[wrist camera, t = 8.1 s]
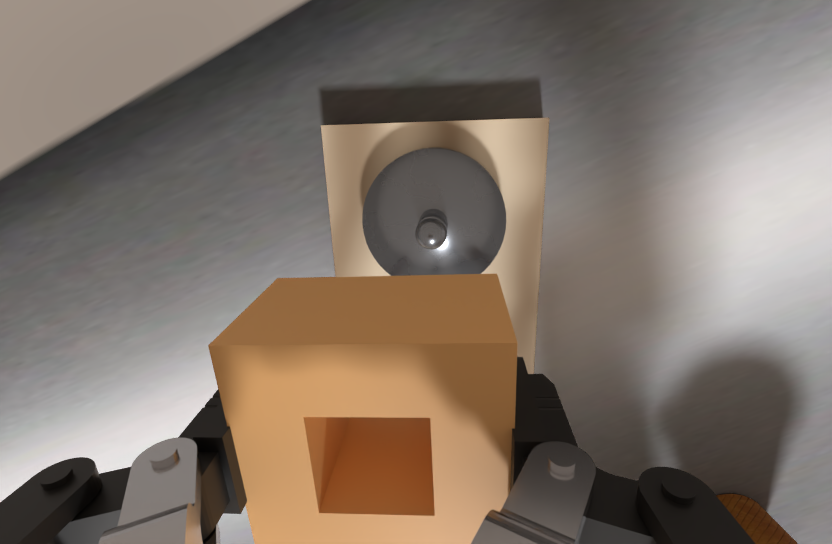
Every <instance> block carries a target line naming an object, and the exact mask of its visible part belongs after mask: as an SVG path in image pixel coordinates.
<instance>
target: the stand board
mask: <svg viewBox="0 0 832 544" xmlns="http://www.w3.org/2000/svg"><path fill="white" fill-rule="evenodd" d="M321 131H322V141H323V152H324V162H325V172H326V183H327V193H328V203H329V213H330V224H331V234H332V244H333V255H334V265H335V275H336V277H361V276H391V275H389V274H388V273H387V272H386V271H385V270H384V269H383V268H382V267H381V266H380V265H379V264H378V263H377V261H376V260H375V259H374V257H373V255H372V254H371V252H370V250H369V248H368V245H367V243H366V240H365V236H364V232H363V225H362V214H363V206H364V202H365V198H366V195H367V193H368V190H369V188H370V186H371V185H372V183H373V181H374V180H375V178H376V177H377V176H378V174H379V173H380V172H381V171H382V170H383V169H384V168H385V167H386V166H387V165H389V164H390V163H391V162H393V161H394V160H395V159H397V158H399V157H400V156H402V155H404V154H406V153H408V152H411V151H414V150H417V149H421V148H428V147H443V148H449V149H453V150H456V151H459V152H462V153H464V154H466V155H468V156H470V157H471V158H473V159H475V160H476V161H477V162H479V163H480V164H481V165H482V166H483V167H484V168H485V169H486V170H487V171H488V172H489V174H490V175H491V176H492V178H493V179H494V181H495V182H496V184H497V186H498V188H499V190H500V192H501V194H502V197H503V200H504V204H505V209H506V231H505V235H504V240H503V242H502V245H501V248H500V250H499V252H498V254H497V255H496V257H495V259H494V260H493V261H492V263H491V264H490V265H489V266H488V267H487V268H486V269H485V270H484V271H483V272H482V273H481V274H497V275H498V278H499V282H500V285H501V288H502V292H503V295H504V299H505V302H506V305H507V309H508V312H509V316H510V319H511V322H512V326H513V329H514V333H515V336H516V339H517V343H518V345H517V357H523V359H524V362H525V365H526V368H527V372H528V374H534V360H535V344H536V328H537V311H538V295H539V279H540V262H541V246H542V229H543V213H544V197H545V180H546V164H547V148H548V131H549V118H521V119H492V120H463V121H434V122H405V123H376V124H347V125H321Z"/></svg>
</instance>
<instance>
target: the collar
mask: <svg viewBox="0 0 832 544" xmlns="http://www.w3.org/2000/svg"><path fill="white" fill-rule="evenodd" d="M517 345H518V343H517V339H516V336H515V333H514V329H513V326H512V322H511V319H510V316H509V312H508V309H507V305H506V302H505V299H504V295H503V292H502V288H501V285H500V282H499V278H498V275H497V274H454V275H407V276H361V277H314V278H277V279H276V280H275V281H274V282H273V283H272V284H271V285H270V286H269V287H268V288H267V289H266V290H265V291H264V292H263V293H262V294H261V295H260V296H259V297H258V298H257V299H256V300H255V301H254V302H253V303H252V304H251V305H250V306H249V307H248V308H246V309H245V310H244V311H243V312H242V313H241V314H240V315H239V316H238V317H237V318H236V319H235V320H234V321H233V322H232V323H231V324H230V325H229V326H228V327H227V328H226V329H225V330H224V331H223V332H222V333H221V334H220V335H219V336H218V337H217V338H216V339H215V340H214V341H212V342H211V343H210V344H209V345H208V346H209V351H210V355H211V359H212V363H213V368H214V372H215V376H216V380H217V385H218V389H219V393H220V398H221V402H222V406H223V410H224V415H225V419H226V423H227V426H230V428H231V433H232V437H233V441H234V446H235V450H236V454H237V459H238V463H239V467H240V471H241V476H242V480H243V484H244V489H245V493H246V497H247V503H246V509H247V513H248V517H249V521H250V526H251V530H252V534H253V538H254V543H255V544H471V542H472V540H473V539H474V537H475V535H476V533H477V531H478V529H479V528H480V526H481V524H482V522H483V520H484V518H485V517H486V515H487V514H488V512H489V511H490V510H492V509H494V510H496V511H498V512H500V511H501V509H502V507H503V505H504V503H505V501H506V499H507V497H508V495H509V493H510V480H511V446H512V428H515V407H516V376H517Z"/></svg>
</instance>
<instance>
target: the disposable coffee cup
mask: <svg viewBox="0 0 832 544" xmlns="http://www.w3.org/2000/svg"><path fill="white" fill-rule="evenodd" d="M717 497H718V499H719V500H720V501H721V502H722V504H723V505H724V506H725V507H726V508H727V510H728V511H729V512H730V513H731V514H732V516H733V517H734V518H735V519H736V521H737V522H738V523H739V524H740V525H741V527H742V528H743V529H744V530H745V531H746V533H747V534H748V535H749V536H750V538H751V539H752V540H753V541H754V542H755V544H797V542H796V541H795V540H794V539H793V538H792V537H791V536H790V535H789V534H788V533H787V532H786V531H785V530H784V529H783V528H782V527H781V526H780V525H779V524H778V523H777V522H776V521H775V520H774V519H773V518H772V517H771V516H770V515H769V514H768V513H767V512H766V511H765V510H764V509H763V508H762V507H761V506H760V505H759V504H758V503H757V502H755V501H754V500H753V499H751V498H748V497H746V496H743V495H738V494H722V495H717Z"/></svg>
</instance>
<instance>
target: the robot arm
mask: <svg viewBox="0 0 832 544" xmlns="http://www.w3.org/2000/svg"><path fill="white" fill-rule="evenodd" d="M246 503H247V497H246V493H245V489H244V484H243V480H242V476H241V471H240V467H239V463H238V459H237V454H236V450H235V446H234V441H233V437H232V433H231V428H230V426H227V423H226V419H225V415H224V410H223V406H222V402H221V398H220V393H219V389H218V390H217V391H216V393H215V394H214V395H213V398H211V399H210V400H209V401H208V402H207V403H206V405H205V408H202V409H201V411H200V412H199V413H198V414H197V415H196V417H195V418H194V419H193V420H192V422H191V423H190V424H189V425H188V426H187V428H186V429H185V430H184V431H183V432H182V434H181V435H180V436H179V437H178V438H172V439H168V440H165V441H162V442H159V443H157V444H155V445H153V446H151V447H150V448H148V449H146V450H145V451H144V452H142V453H141V454H140V455H139V456H138V457H137V458H136V459H135V461H134V462H133V464H132V466H131V467H128V468H124V469H119V470H115V471H110V472H105V473H101V474H99V473H98V471H97V468H96V465H95V463H94V461H93V460H91V459H89V458H83V457H80V458H72V459H68V460H64V461H61V462H59V463H56V464H54V465H52V466H50V467H48V468H46V469H44V470H42V471H41V472H39V473H38V474H36V475H35V476H33V477H32V478H31V479H30V480H28V481H27V482H26V483H24V484H23V485H22V486H21V487H19V488H18V489H17V490H16V491H14V492H13V493H12V494H11V495H9V496H8V497H7V498H6V499H4V500H3V501H2V502H0V544H220V531H219V527H218V521H219V519H220V518H221V516H222V514H223V513H230V514H241V512H242V510H243V508H244V506H245V505H246ZM471 544H755V542H754V541H753V540H752V539H751V538H750V536H749V535H748V534H747V533H746V531H745V530H744V529H743V528H742V527H741V525H740V524H739V523H738V522H737V521H736V519H735V518H734V517H733V516H732V514H731V513H730V512H729V511H728V510H727V508H726V507H725V506H724V505H723V504H722V502H721V501H720V500H719V499H718V497H717V496H716V495H715V494H714V493H713V491H712V490H711V489H710V488H709V487H708V486H707V485H706V484H704V483H703V482H702V481H701V480H699V479H698V478H696V477H694V476H693V475H691V474H689V473H686V472H684V471H681V470H678V469H674V468H669V467H654V468H650V469H648V470H646V471H644V472H643V473H642V474H641V476H640V478H639V481H635V480H631V479H627V478H623V477H619V476H615V475H612V474H609V473H607V472H604V471H602V470H600V469H598V468H597V467H595V464H594V462H593V460H592V459H591V457H590V456H589V455H588V454H587V453H586V452H585V451H583V450H582V449H580V448H578V446H577V443H576V441H575V438H574V435H573V433H572V430H571V428H570V425H569V422H568V420H567V417H566V414H565V412H564V410H563V407H562V404H561V401H560V399H559V396H558V394H557V391H556V388H555V386H554V384H553V383H552V382H551V381H550V380H549V379H547V378H546V377H545V376H544V375H543V374H528V372H527V368H526V365H525V362H524V359H523V357H517V376H516V407H515V428H512V446H511V480H510V493H509V495H508V497H507V499H506V501H505V503H504V505H503V507H502V509H501V511H500V512H498V511H496V510H494V509H492V510H490V511H489V512H488V514H487V515H486V517H485V518H484V520H483V522H482V524H481V526H480V528H479V529H478V531H477V533H476V535H475V537H474V539H473V540H472V542H471Z"/></svg>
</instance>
